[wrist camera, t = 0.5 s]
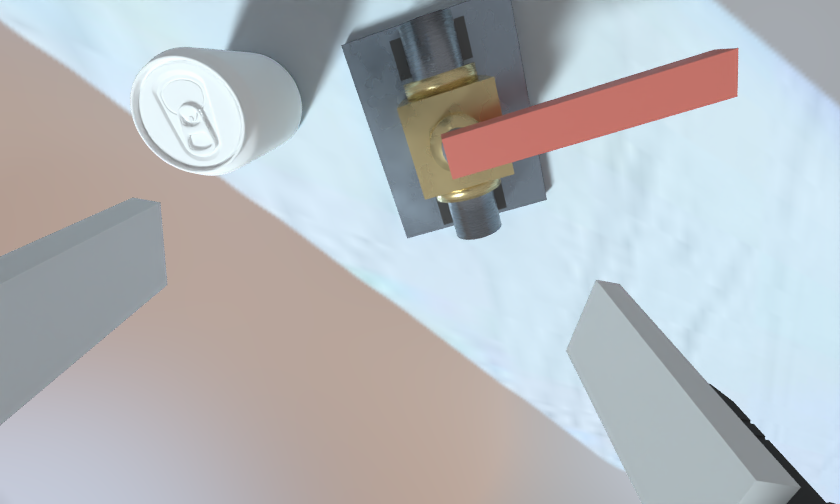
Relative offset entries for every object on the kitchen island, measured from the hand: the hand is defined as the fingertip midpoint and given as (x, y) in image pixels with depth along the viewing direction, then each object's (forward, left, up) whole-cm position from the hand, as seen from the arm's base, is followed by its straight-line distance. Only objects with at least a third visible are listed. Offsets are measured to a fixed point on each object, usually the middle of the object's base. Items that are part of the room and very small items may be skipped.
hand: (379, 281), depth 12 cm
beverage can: (-7, -12, -28) cm, 31 cm away
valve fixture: (0, +4, -28) cm, 28 cm away
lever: (0, +11, -18) cm, 21 cm away
